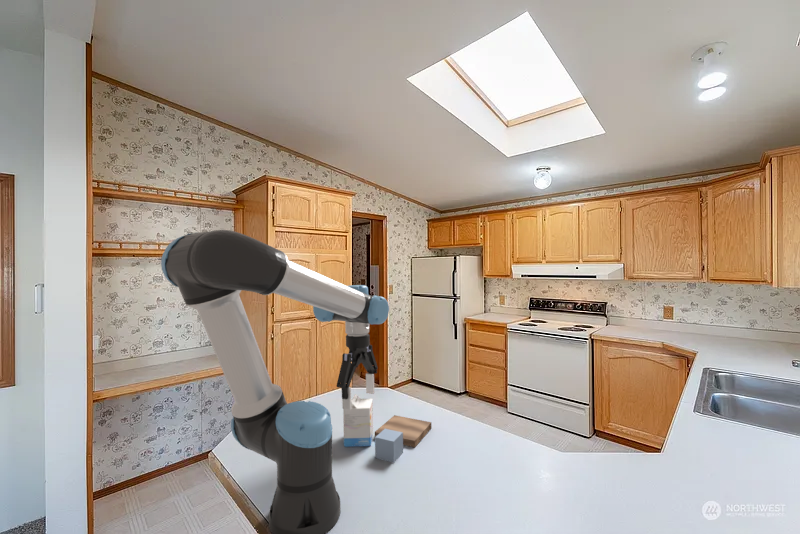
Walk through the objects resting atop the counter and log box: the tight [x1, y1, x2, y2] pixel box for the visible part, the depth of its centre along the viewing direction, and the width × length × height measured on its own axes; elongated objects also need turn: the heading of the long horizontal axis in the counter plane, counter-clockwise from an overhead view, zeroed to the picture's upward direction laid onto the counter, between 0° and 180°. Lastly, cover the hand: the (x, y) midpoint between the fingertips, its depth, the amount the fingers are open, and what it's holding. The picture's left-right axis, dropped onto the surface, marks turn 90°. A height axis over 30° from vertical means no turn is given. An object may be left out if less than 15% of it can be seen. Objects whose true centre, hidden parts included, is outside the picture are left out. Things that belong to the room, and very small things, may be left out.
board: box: [374, 414, 432, 448], centre depth 115 cm, size 14×14×2 cm
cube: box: [374, 429, 404, 463], centre depth 102 cm, size 6×6×6 cm
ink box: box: [342, 393, 374, 448], centre depth 111 cm, size 9×8×13 cm
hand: (359, 400), depth 112 cm, fingers open, 13 cm apart
